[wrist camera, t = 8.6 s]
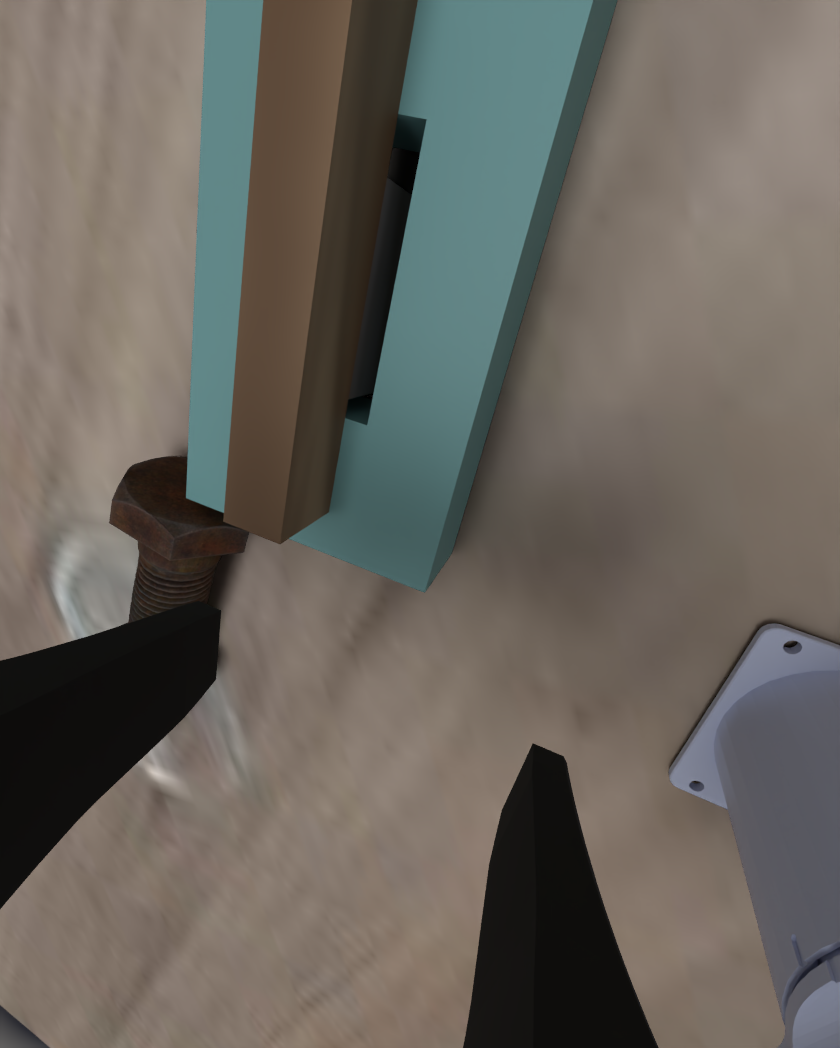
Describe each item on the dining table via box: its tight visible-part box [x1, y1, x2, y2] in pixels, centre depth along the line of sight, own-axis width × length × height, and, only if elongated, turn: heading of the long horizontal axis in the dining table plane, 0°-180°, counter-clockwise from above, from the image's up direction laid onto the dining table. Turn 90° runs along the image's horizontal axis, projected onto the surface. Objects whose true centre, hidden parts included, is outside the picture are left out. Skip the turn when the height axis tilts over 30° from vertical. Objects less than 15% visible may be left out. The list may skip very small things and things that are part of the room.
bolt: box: [109, 456, 249, 626], centre depth 24 cm, size 6×5×15 cm
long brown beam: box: [223, 0, 418, 544], centre depth 15 cm, size 2×14×6 cm, turn 166°
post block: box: [186, 0, 617, 593], centre depth 16 cm, size 10×18×4 cm, turn 166°
